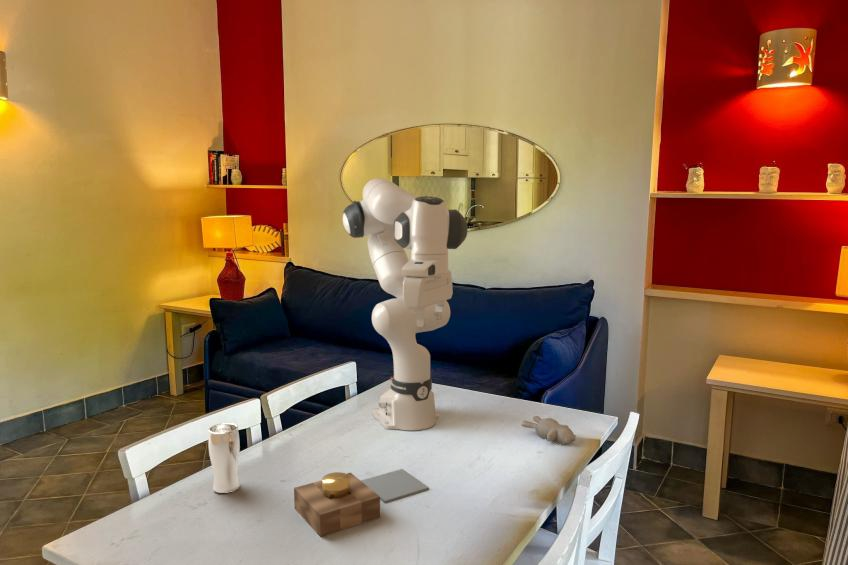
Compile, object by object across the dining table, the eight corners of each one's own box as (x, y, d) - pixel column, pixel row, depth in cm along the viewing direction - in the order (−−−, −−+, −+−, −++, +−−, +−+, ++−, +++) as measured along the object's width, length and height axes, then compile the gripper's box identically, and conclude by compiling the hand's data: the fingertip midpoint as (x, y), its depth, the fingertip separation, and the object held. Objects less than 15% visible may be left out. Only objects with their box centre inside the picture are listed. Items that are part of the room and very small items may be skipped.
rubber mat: (360, 482, 151) (360, 480, 151) (402, 470, 158) (402, 468, 158) (384, 502, 141) (384, 500, 141) (428, 489, 148) (428, 487, 148)
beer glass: (247, 484, 151) (244, 424, 149) (229, 497, 144) (226, 435, 142) (223, 479, 153) (220, 421, 151) (204, 492, 146) (201, 431, 144)
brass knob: (318, 510, 138) (317, 476, 137) (343, 503, 141) (342, 470, 140) (330, 522, 133) (329, 487, 132) (355, 514, 136) (354, 480, 135)
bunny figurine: (563, 436, 170) (519, 416, 181) (560, 453, 171) (517, 432, 182) (582, 427, 177) (539, 408, 187) (579, 444, 178) (536, 424, 188)
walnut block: (294, 508, 139) (293, 487, 138) (351, 491, 147) (350, 472, 146) (320, 536, 128) (319, 514, 127) (380, 517, 135) (380, 496, 134)
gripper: (435, 261, 159) (436, 314, 161) (398, 269, 140) (398, 329, 142) (458, 262, 156) (458, 316, 158) (423, 270, 138) (423, 331, 140)
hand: (430, 322), depth 150 cm, fingers open, 8 cm apart
